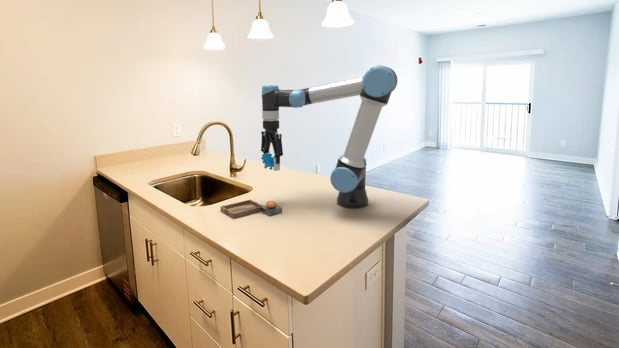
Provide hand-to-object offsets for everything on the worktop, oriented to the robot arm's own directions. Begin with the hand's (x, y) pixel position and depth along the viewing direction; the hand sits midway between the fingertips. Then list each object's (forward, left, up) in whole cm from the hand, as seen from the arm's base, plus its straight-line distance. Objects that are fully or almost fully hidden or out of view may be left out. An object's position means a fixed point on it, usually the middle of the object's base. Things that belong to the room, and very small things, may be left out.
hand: (272, 168), depth 164 cm
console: (-9, +7, -17) cm, 21 cm away
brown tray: (+1, +16, -17) cm, 24 cm away
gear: (0, 0, 0) cm, 1 cm away
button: (-9, +7, -15) cm, 20 cm away
